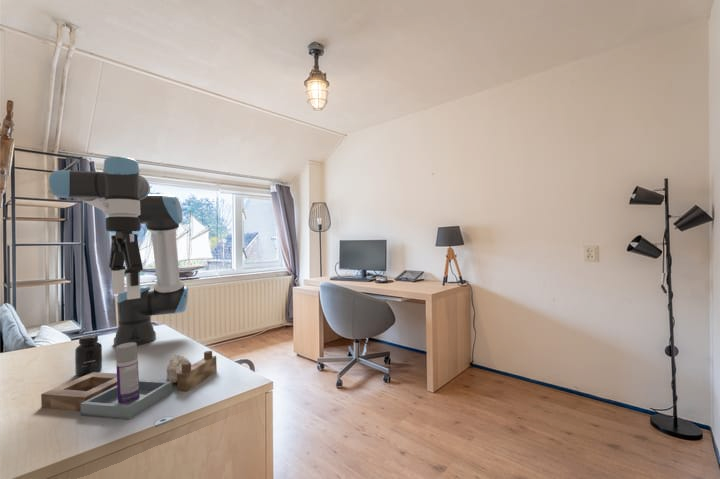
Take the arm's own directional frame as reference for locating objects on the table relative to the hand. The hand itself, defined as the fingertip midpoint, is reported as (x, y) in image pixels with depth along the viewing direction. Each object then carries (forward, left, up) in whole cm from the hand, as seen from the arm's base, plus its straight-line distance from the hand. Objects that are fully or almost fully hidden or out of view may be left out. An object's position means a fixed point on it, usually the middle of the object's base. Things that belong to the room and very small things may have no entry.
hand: (125, 296), depth 87 cm
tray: (0, 0, -29) cm, 29 cm away
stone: (-15, +3, -29) cm, 33 cm away
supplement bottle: (-16, -32, -29) cm, 46 cm away
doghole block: (-2, -15, -29) cm, 32 cm away
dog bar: (-15, +9, -29) cm, 34 cm away
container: (0, 0, -28) cm, 28 cm away
